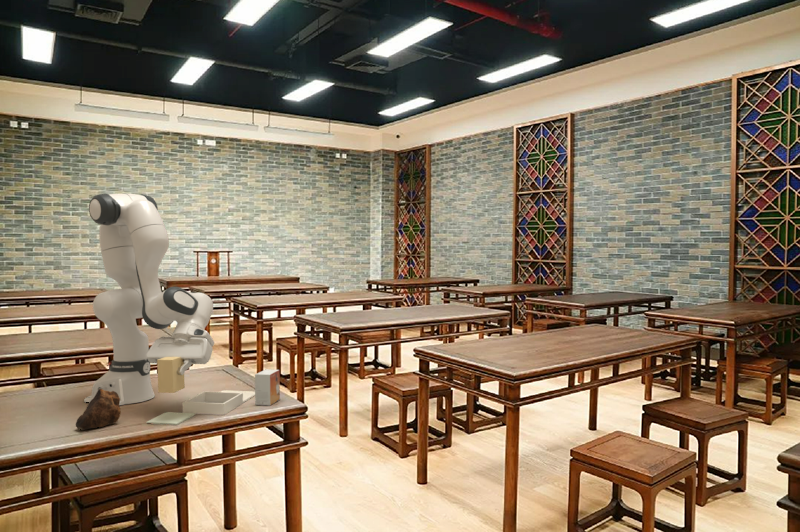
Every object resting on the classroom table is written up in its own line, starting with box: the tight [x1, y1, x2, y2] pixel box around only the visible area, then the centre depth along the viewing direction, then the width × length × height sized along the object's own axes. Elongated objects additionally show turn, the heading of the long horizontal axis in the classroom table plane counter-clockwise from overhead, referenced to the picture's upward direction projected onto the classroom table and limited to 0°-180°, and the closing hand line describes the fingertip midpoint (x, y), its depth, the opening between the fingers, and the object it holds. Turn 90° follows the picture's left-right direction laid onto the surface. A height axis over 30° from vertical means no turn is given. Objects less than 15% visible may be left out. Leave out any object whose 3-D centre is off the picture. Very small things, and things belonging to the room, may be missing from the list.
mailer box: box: [182, 389, 255, 416], centre depth 185 cm, size 14×26×4 cm, turn 170°
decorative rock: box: [75, 389, 122, 431], centre depth 161 cm, size 12×6×11 cm, turn 139°
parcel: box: [156, 357, 185, 394], centre depth 167 cm, size 5×6×10 cm
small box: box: [254, 368, 281, 406], centre depth 185 cm, size 8×6×10 cm
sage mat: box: [146, 411, 196, 426], centre depth 167 cm, size 10×10×1 cm
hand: (169, 374), depth 166 cm, fingers closed on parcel, 5 cm apart
